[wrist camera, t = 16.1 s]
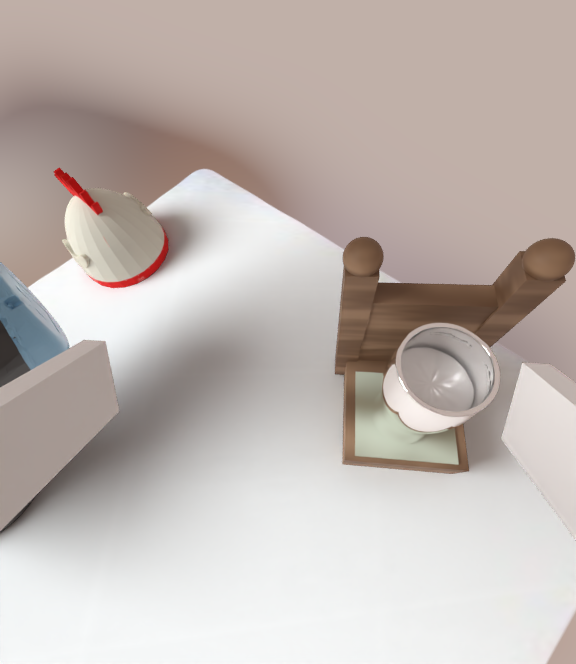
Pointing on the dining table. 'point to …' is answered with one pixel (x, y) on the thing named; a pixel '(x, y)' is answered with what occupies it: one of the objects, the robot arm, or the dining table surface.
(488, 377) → the white tumbler cup
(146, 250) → the kitchen timer
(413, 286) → the wooden l-shaped piece
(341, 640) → the dining table surface
